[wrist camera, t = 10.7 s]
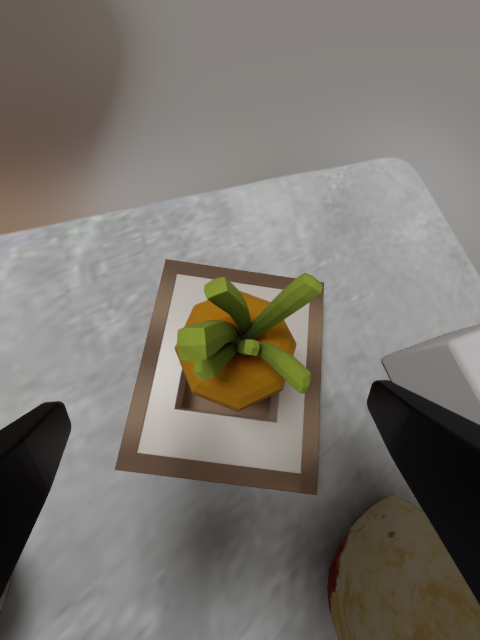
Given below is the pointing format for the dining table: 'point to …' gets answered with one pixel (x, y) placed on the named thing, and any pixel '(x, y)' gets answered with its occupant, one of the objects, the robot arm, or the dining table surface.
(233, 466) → the walnut box
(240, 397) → the carrot
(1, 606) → the mug
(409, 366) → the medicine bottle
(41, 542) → the dining table surface
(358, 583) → the food model
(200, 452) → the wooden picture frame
